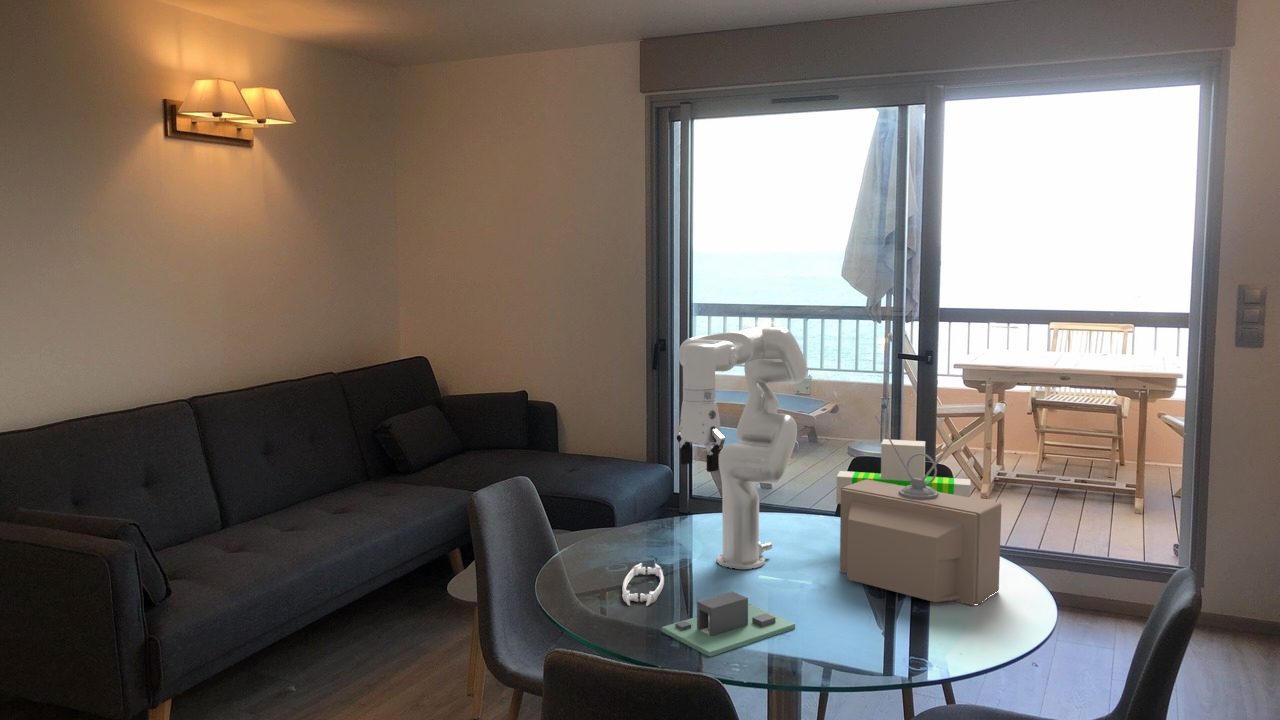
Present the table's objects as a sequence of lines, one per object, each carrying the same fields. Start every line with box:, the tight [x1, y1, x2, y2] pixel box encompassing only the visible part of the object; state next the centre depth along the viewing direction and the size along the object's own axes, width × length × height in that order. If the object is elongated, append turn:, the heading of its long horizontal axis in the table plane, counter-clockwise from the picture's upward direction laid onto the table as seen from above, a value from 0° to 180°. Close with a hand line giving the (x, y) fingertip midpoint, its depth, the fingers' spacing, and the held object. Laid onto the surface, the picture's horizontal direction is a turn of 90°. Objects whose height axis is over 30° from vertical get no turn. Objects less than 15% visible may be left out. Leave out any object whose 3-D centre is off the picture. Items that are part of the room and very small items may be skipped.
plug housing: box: [696, 591, 749, 636], centre depth 199 cm, size 10×5×6 cm, turn 126°
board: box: [661, 603, 796, 658], centre depth 201 cm, size 24×16×3 cm, turn 126°
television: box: [839, 416, 1002, 606], centre depth 225 cm, size 36×20×40 cm, turn 46°
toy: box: [835, 438, 971, 505], centre depth 250 cm, size 34×7×30 cm, turn 71°
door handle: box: [621, 562, 665, 607], centre depth 227 cm, size 3×10×25 cm
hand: (699, 467), depth 221 cm, fingers open, 9 cm apart
